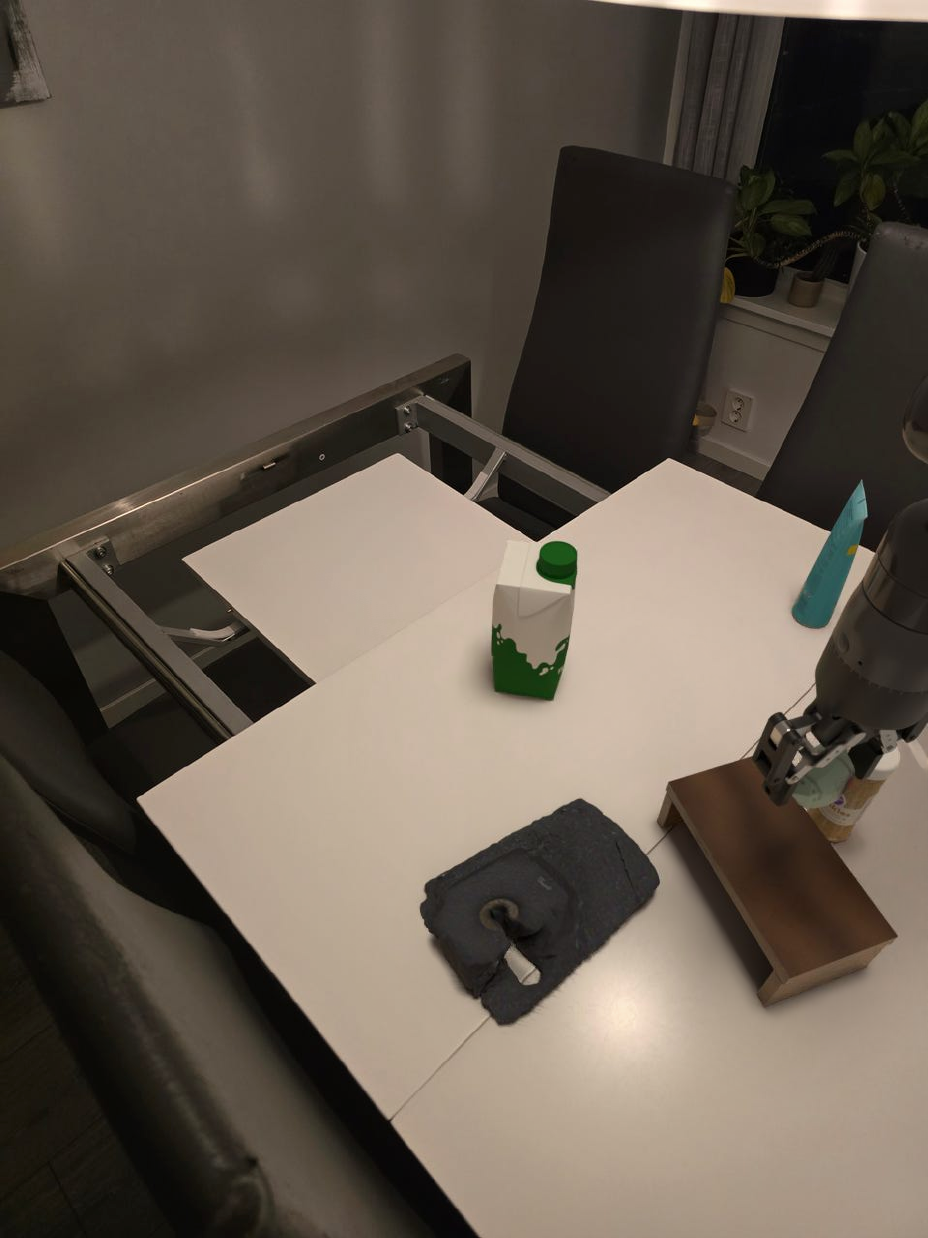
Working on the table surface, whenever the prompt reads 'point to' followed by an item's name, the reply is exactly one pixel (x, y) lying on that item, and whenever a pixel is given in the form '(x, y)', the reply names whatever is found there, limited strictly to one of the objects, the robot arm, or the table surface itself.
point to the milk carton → (533, 617)
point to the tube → (832, 565)
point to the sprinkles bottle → (853, 800)
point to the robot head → (825, 782)
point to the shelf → (779, 878)
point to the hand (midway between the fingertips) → (815, 783)
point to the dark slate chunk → (537, 902)
